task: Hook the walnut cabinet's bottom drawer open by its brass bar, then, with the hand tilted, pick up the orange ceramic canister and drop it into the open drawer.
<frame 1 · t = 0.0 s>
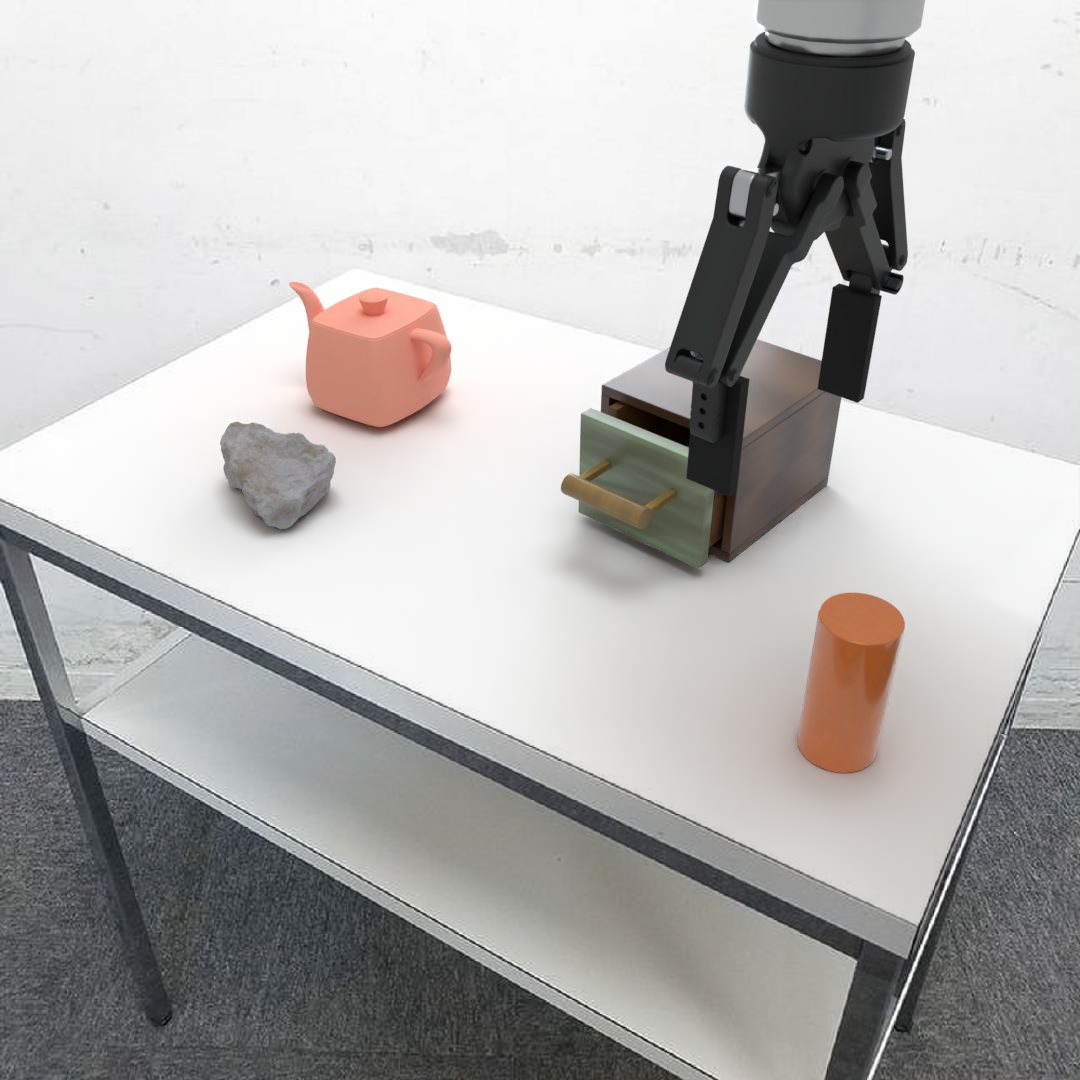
hand: (779, 437, 67), 19 cm above the table, tool pointing down, fingers open, 13 cm apart
stone: (278, 502, 96), on the table
cabinet: (713, 493, 97), on the table
drawer: (673, 467, 90), point 5 cm above the table, slide at 2.0 cm
canister: (836, 744, 73), on the table
teapot: (375, 400, 110), on the table
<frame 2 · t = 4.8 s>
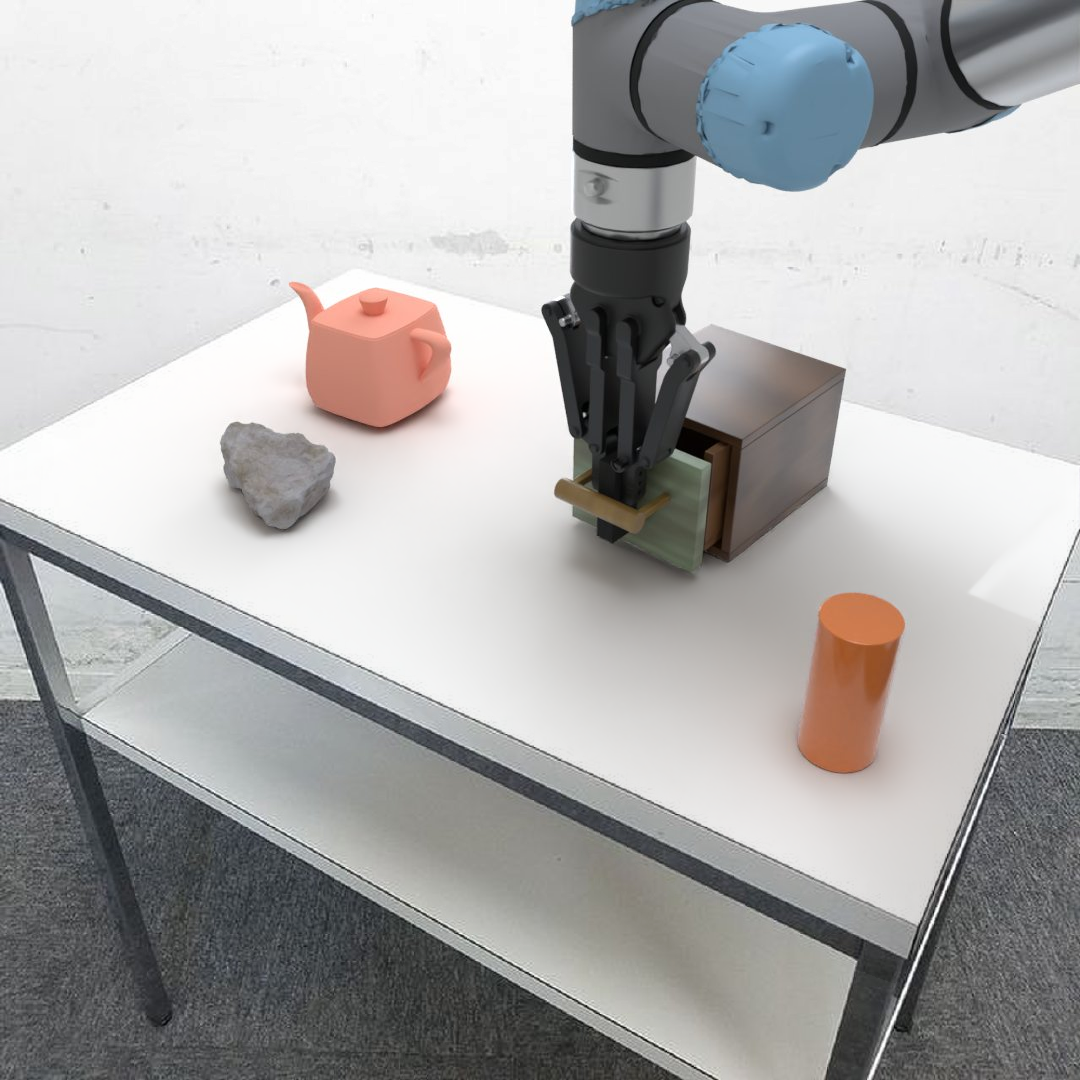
hand: (616, 531, 87), 3 cm above the table, tool pointing down, fingers closed
drawer: (667, 471, 89), point 5 cm above the table, slide at 2.8 cm, touching gripper
everything else where it was.
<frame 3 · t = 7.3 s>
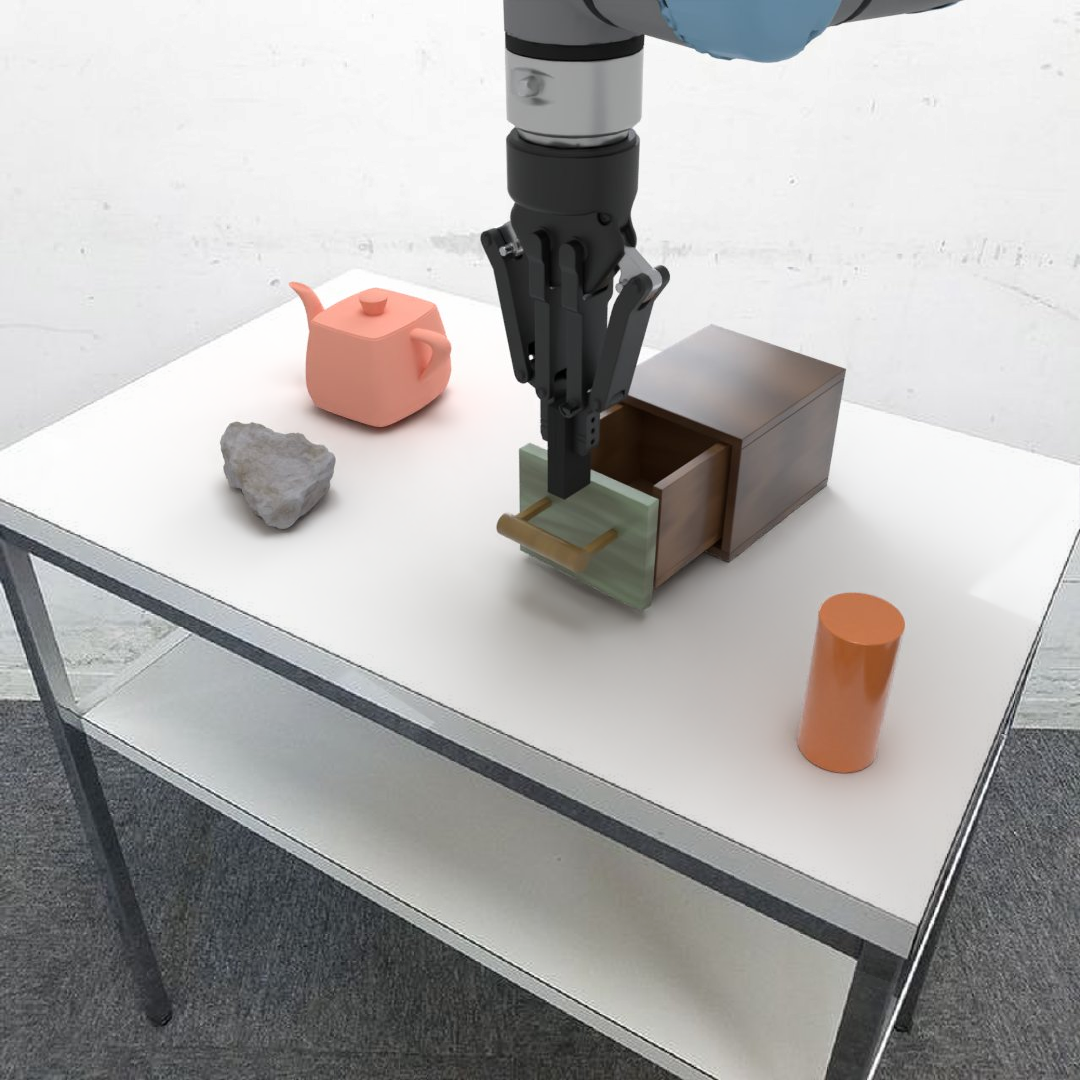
hand: (569, 487, 79), 10 cm above the table, tool pointing down, fingers closed
drawer: (618, 504, 86), point 5 cm above the table, slide at 8.8 cm
everything else where it was.
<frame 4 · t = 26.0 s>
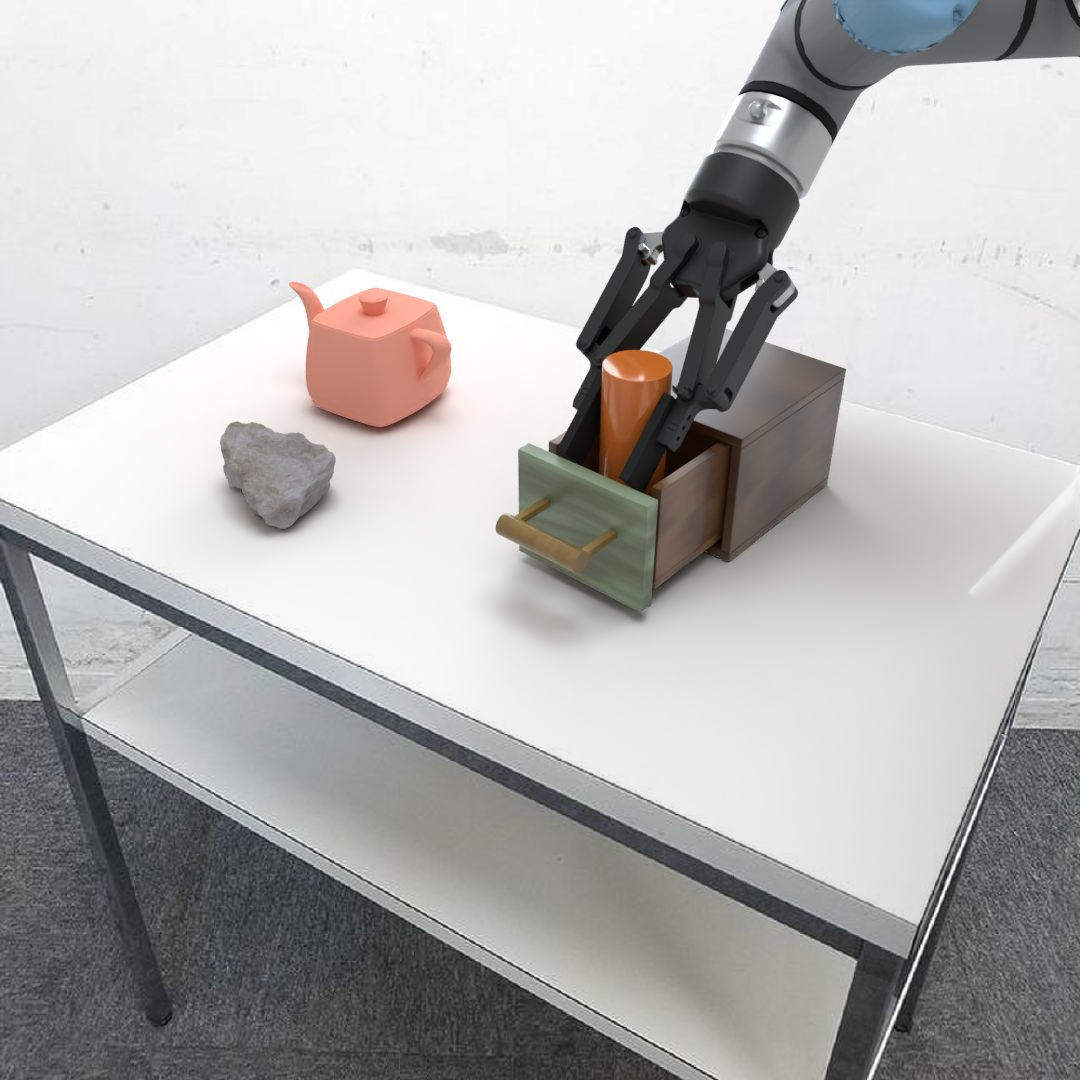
hand: (599, 471, 82), 9 cm above the table, tool tilted 45°, fingers closed on canister, 5 cm apart
drawer: (617, 505, 86), point 5 cm above the table, slide at 8.9 cm, touching gripper
canister: (630, 489, 86), point 6 cm above the table, touching gripper
everything else where it was.
when the fingers open (11 cm above the table, at t = 33.0 s): canister drops 1 cm, resting on drawer.
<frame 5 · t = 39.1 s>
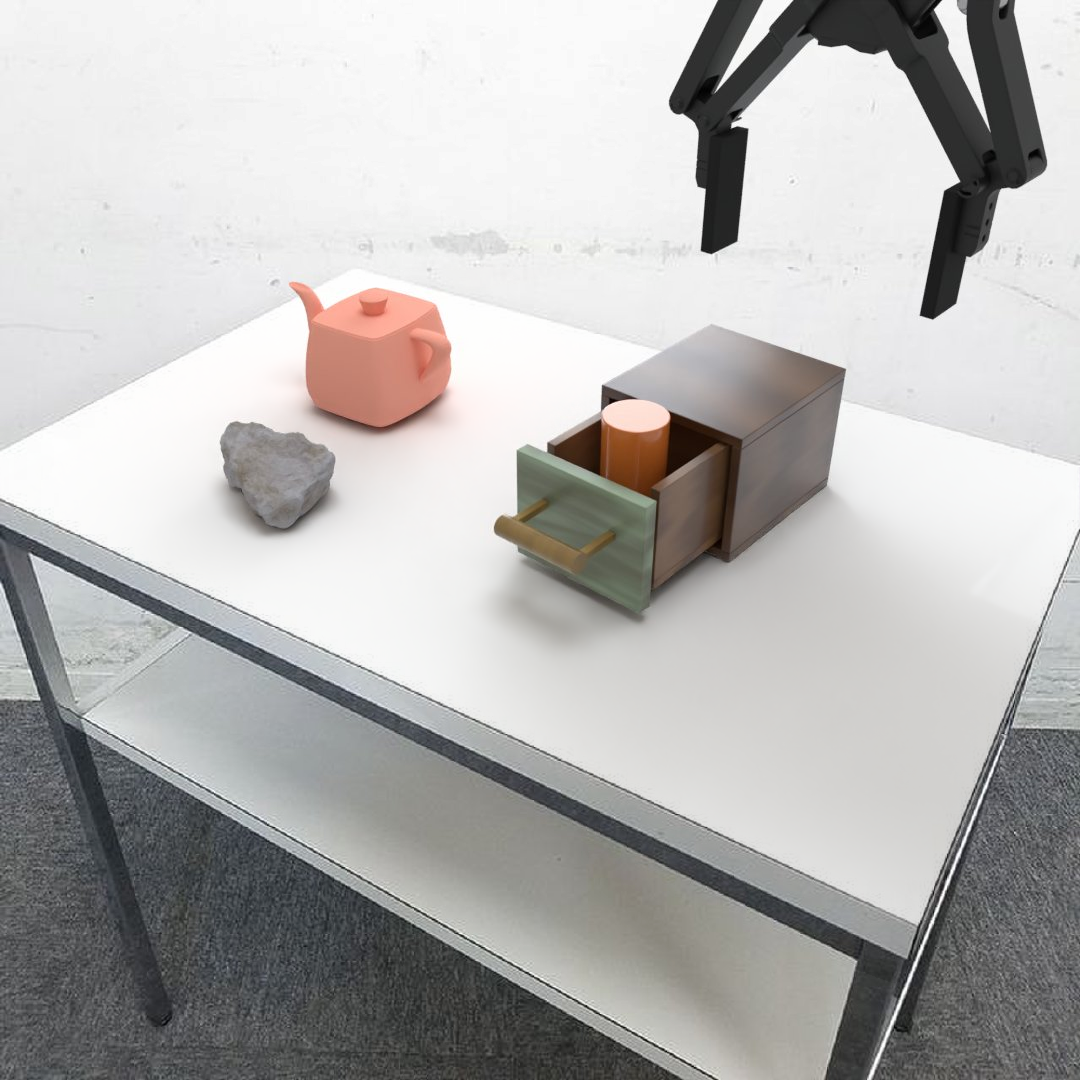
hand: (822, 277, 65), 27 cm above the table, tool pointing down, fingers open, 13 cm apart
drawer: (615, 505, 86), point 5 cm above the table, slide at 9.1 cm, touching canister
canister: (629, 533, 88), point 2 cm above the table, touching drawer
everything else where it was.
at the end: drawer slide at 9.1 cm; canister inside the target area in the drawer (4.0 cm from its centre), point 2.0 cm above the cabinet's base; the gripper is holding nothing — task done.
